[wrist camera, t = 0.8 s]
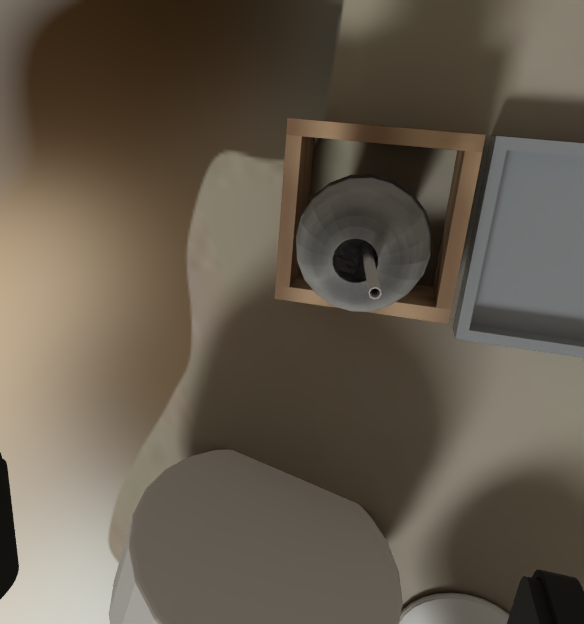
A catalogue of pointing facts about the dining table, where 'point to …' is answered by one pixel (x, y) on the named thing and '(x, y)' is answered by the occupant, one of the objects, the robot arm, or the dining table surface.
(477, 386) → the dining table surface
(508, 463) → the dining table surface
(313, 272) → the beverage cup
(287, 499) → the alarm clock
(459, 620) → the chalice
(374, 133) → the holder
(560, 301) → the tray
